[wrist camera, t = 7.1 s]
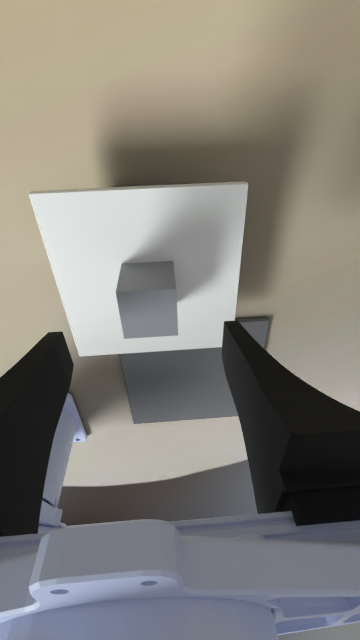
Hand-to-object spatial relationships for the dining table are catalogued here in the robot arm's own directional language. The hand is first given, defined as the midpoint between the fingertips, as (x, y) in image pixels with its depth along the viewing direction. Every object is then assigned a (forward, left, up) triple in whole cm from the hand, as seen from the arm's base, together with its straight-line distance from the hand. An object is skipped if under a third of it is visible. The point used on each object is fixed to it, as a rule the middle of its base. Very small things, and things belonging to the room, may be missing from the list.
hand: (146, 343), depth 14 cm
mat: (+3, -13, -10) cm, 17 cm away
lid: (0, 0, -6) cm, 6 cm away
